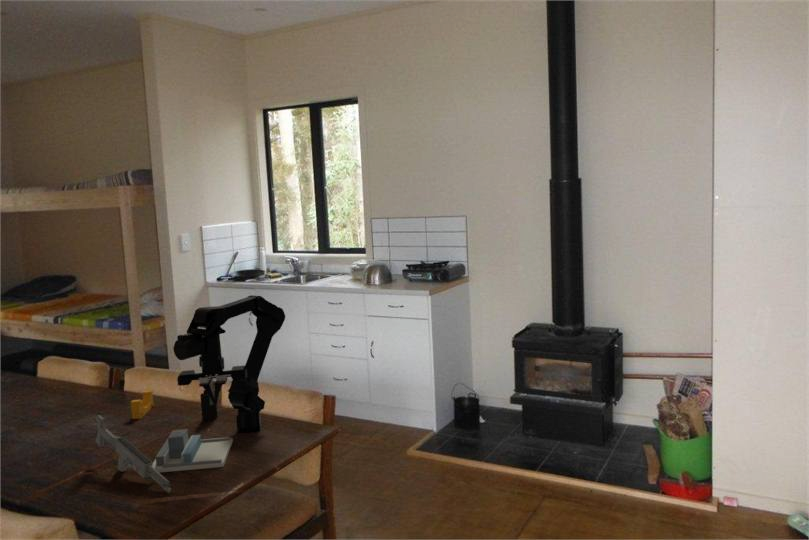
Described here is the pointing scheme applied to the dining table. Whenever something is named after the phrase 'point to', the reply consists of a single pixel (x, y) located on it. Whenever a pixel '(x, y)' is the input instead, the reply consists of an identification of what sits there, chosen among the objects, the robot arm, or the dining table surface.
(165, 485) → the gun
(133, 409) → the pipe clamp
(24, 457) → the dining table surface
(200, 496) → the dining table surface
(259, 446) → the dining table surface
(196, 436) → the vise free jaw
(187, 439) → the steel block
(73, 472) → the dining table surface
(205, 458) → the vise bed
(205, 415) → the walkie-talkie
